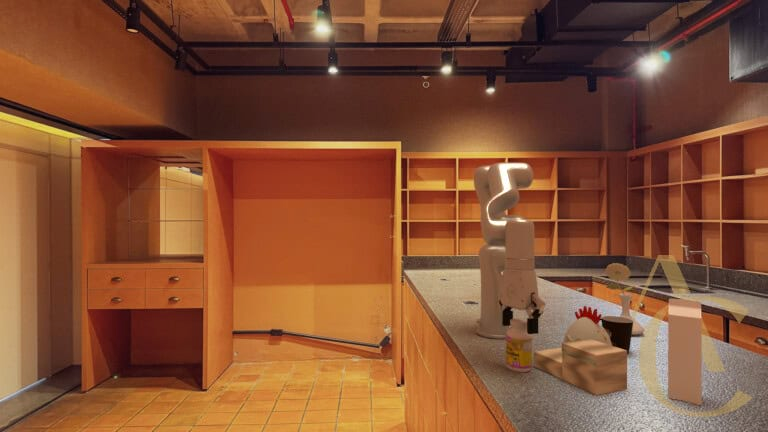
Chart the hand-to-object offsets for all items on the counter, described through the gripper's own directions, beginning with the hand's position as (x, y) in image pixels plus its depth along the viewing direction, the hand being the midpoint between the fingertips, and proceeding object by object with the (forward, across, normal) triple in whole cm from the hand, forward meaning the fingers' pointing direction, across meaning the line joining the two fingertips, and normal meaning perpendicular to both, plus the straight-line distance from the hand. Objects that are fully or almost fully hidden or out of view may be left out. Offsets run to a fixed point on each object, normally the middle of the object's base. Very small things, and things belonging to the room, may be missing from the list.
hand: (519, 329), depth 109 cm
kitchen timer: (+11, -1, +26) cm, 28 cm away
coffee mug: (+10, -3, +40) cm, 41 cm away
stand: (+11, +9, +10) cm, 18 cm away
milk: (+11, +27, +24) cm, 38 cm away
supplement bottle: (+11, -1, 0) cm, 11 cm away
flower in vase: (+10, -17, +61) cm, 64 cm away
